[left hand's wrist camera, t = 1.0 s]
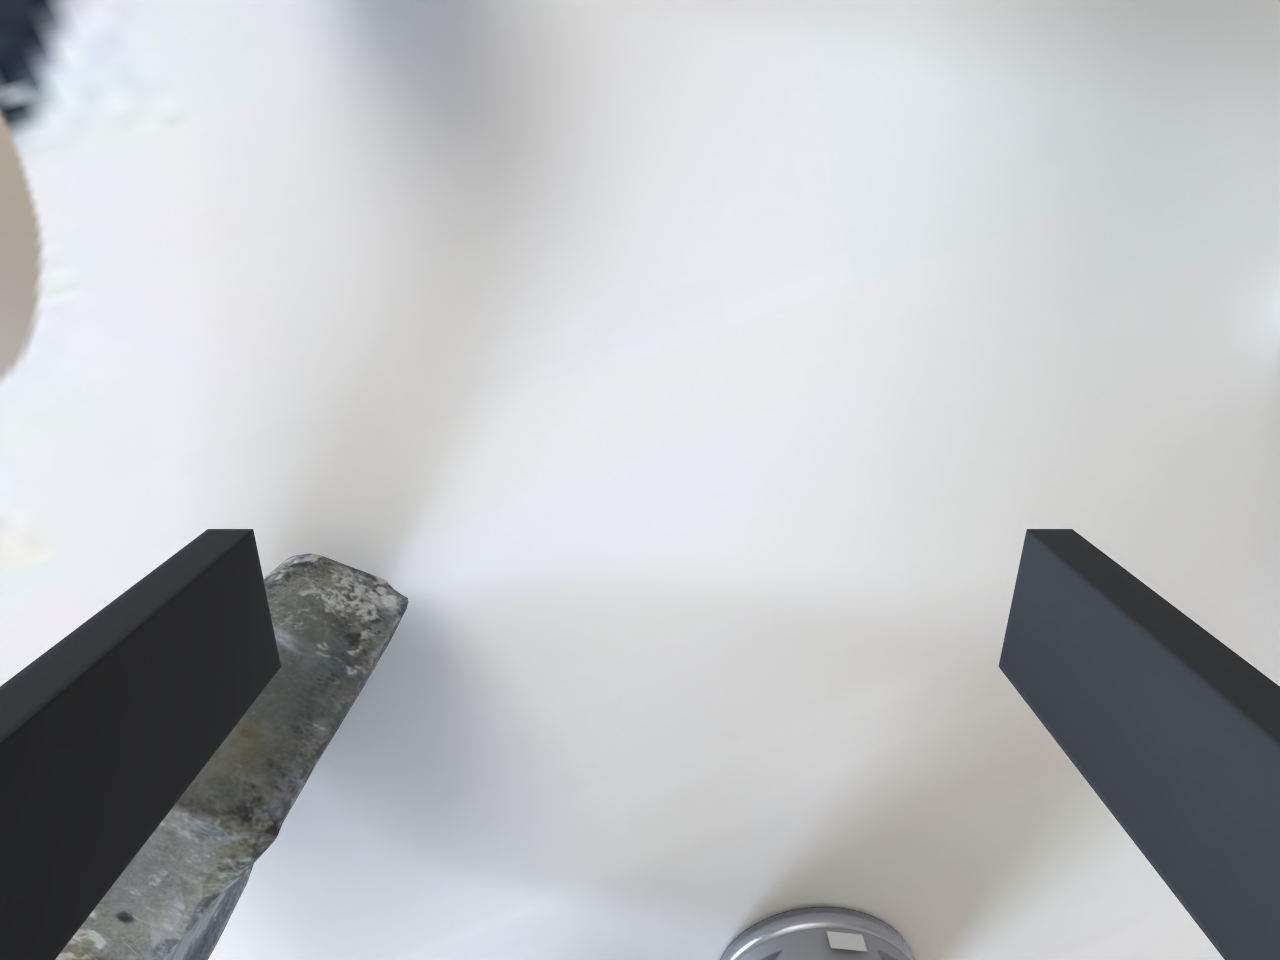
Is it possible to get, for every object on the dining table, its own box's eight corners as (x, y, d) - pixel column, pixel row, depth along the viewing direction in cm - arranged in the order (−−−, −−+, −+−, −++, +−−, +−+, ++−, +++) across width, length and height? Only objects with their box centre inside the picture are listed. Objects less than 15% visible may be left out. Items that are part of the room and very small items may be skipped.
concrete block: (306, 500, 42) (40, 739, 23) (444, 574, 44) (298, 852, 25) (146, 804, 50) (-148, 1163, 31) (268, 857, 52) (57, 1227, 33)
